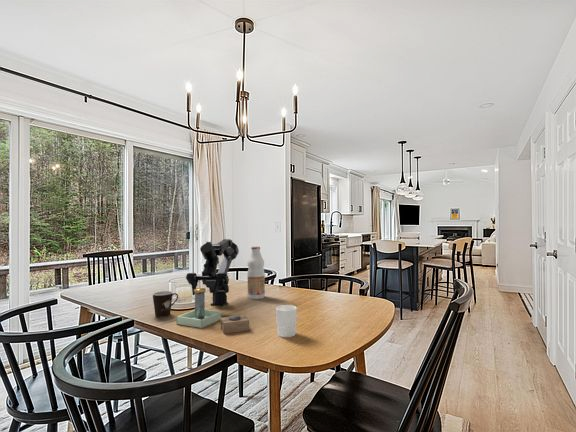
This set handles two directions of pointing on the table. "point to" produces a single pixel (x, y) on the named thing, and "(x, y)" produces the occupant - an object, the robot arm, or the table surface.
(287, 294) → the table surface
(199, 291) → the grey metal cylinder
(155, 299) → the coffee mug
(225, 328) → the block
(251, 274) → the fruit juice
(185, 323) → the green tray
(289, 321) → the white cup
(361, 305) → the table surface
